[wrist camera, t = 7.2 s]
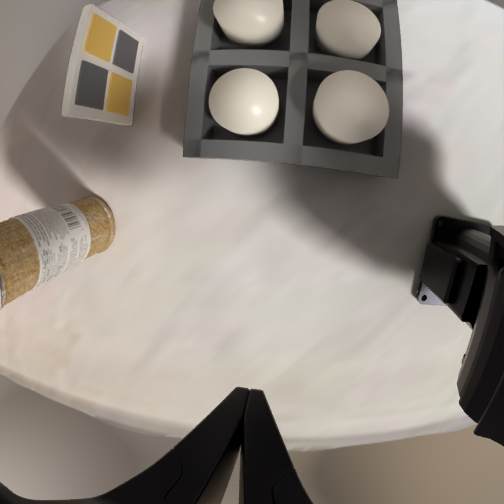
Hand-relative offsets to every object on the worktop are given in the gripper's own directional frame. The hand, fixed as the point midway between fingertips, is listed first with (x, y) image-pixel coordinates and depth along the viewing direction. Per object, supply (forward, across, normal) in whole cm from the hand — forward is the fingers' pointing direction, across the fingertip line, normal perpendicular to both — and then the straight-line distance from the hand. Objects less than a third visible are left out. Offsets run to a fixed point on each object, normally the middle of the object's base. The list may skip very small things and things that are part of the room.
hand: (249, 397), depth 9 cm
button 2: (+11, -3, -16) cm, 19 cm away
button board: (+12, 0, -13) cm, 18 cm away
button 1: (+9, -3, -10) cm, 14 cm away
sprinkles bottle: (+12, +14, -2) cm, 19 cm away
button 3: (+11, +2, -10) cm, 15 cm away
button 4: (+9, +2, -16) cm, 18 cm away
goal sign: (+12, +11, -13) cm, 21 cm away
